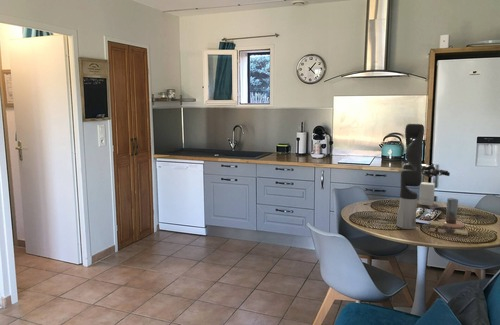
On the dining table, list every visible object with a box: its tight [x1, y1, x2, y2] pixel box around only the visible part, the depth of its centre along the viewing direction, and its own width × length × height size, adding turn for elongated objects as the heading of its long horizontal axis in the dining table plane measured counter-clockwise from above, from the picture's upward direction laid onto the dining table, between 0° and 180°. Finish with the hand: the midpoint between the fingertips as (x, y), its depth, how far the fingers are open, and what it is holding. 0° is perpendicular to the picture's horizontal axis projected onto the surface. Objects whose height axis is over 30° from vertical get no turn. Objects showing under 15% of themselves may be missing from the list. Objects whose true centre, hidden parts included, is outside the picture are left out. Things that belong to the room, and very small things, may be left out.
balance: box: [428, 220, 469, 238], centre depth 224 cm, size 19×7×5 cm, turn 62°
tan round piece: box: [438, 218, 465, 229], centre depth 240 cm, size 14×14×1 cm
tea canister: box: [445, 197, 459, 224], centre depth 239 cm, size 6×6×14 cm
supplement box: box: [418, 181, 436, 207], centre depth 290 cm, size 9×9×15 cm
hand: (442, 174), depth 247 cm, fingers open, 8 cm apart
